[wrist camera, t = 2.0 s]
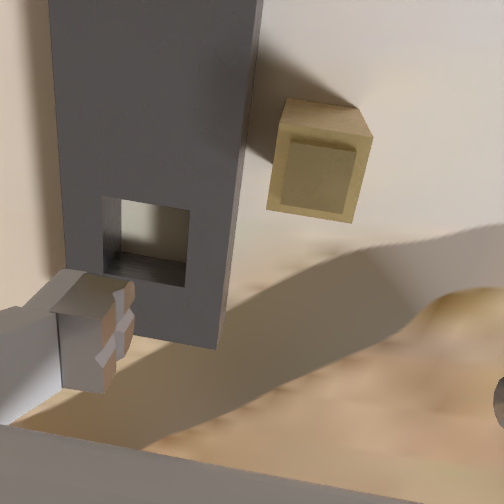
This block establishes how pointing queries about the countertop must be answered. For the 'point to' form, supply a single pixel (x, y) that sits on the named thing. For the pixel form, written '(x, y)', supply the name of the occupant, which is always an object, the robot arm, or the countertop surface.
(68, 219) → the grey peg hole board
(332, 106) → the wooden post chunk
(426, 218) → the countertop surface
